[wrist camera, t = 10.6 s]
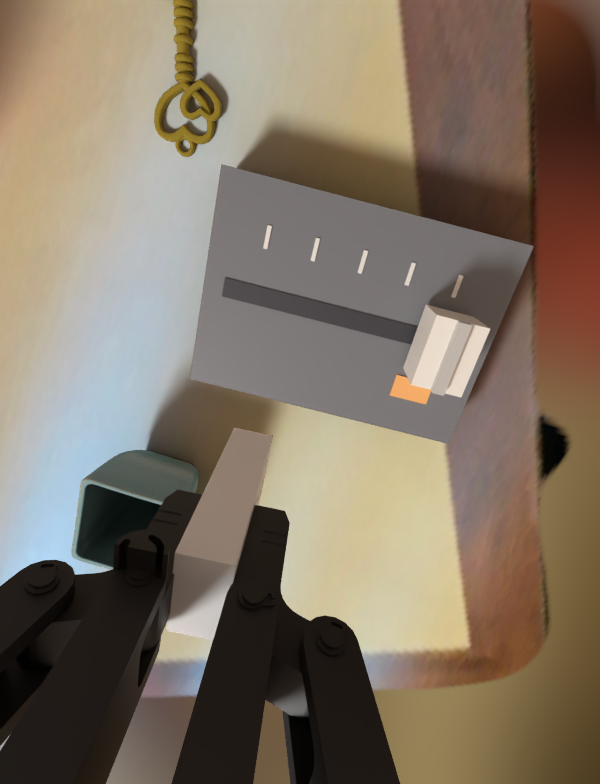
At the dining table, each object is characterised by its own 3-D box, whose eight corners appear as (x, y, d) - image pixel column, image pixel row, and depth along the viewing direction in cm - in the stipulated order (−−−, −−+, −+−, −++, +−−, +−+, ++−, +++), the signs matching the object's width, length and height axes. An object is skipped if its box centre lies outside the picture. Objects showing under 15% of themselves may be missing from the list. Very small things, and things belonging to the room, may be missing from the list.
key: (144, -59, 27) (222, -53, 27) (151, -49, 28) (226, -42, 28) (153, 153, 32) (220, 159, 32) (159, 155, 33) (223, 160, 33)
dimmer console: (234, 170, 33) (221, 164, 29) (511, 242, 33) (534, 246, 29) (203, 363, 39) (189, 379, 35) (437, 422, 39) (448, 444, 35)
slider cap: (425, 304, 31) (438, 316, 27) (473, 316, 31) (493, 331, 27) (403, 367, 33) (412, 388, 29) (448, 379, 33) (463, 401, 29)
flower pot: (130, 426, 42) (79, 477, 33) (217, 452, 42) (188, 510, 34) (118, 496, 45) (69, 559, 37) (198, 520, 46) (168, 588, 37)
